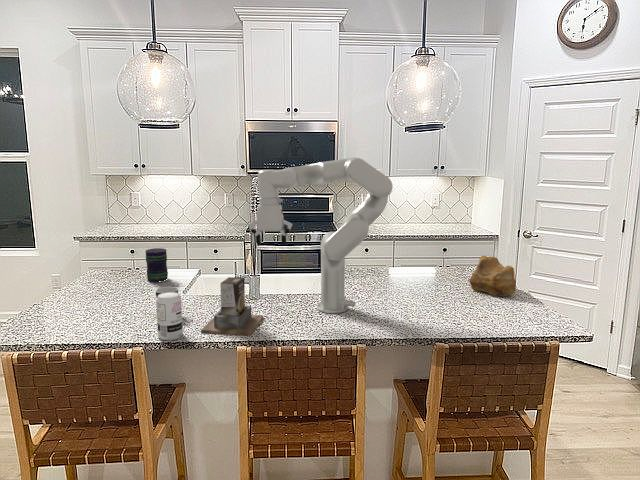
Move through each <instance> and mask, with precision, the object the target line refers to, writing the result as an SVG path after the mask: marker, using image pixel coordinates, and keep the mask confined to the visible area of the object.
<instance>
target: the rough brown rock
mask: <svg viewBox="0 0 640 480" xmlns="http://www.w3.org/2000/svg"><path fill="white" fill-rule="evenodd" d="M468 280H469V284H470V287H471V289H472V290H473V291H476V292H485V293H488V294H490V295H491V296H494V297H496V298H498V297H507V296H511V295H513V294H514V293H516V288H517V285H516V284H517V282H516V278H515V268H514V267H513V266H512V265H505V266H504V265H503V264H502V263H500V261H499V259H498V258H497V257H495V256H491V255H490V256H487V255H482V256H480V257H479V261H478V265H477V266H476V268H475V270H474V271H473V272H472V273H471V276H470V277H469V279H468Z"/></svg>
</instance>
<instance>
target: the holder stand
mask: <svg viewBox="0 0 640 480" xmlns="http://www.w3.org/2000/svg"><path fill="white" fill-rule="evenodd" d="M263 320H264V315H261V314H259V315H258V314H252V305H245V311H244V312H243V313H242V314H241V315H240V316H222V315H221V309H220V310H219V311H218V312H216V313H215V314H214V316H213V318H211V320H210V321H209V322H208V323H206V325H204V327H203V328H201V329H200V333H201V334H216V335H217V334H220V335H235V336H251V335H252V334H253V333H254V332H255V330H256V329H257V327H259V324H260V323H262V321H263Z"/></svg>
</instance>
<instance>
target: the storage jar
mask: <svg viewBox="0 0 640 480" xmlns="http://www.w3.org/2000/svg"><path fill="white" fill-rule="evenodd" d="M167 261H168V254H167V249H166V248H161V247H160V248H155V247H154V248H150V249H149V248H148V249H146V250H145V262H146V278H147V282H148V281H150V282H149V283H151V282H158V283H160V282H159V281H164V280H166V279H167V278H168V277H169V276H168V275H169V272H168V265H167V264H168V263H167ZM168 279H169V278H168ZM164 282H165V281H164Z"/></svg>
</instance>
